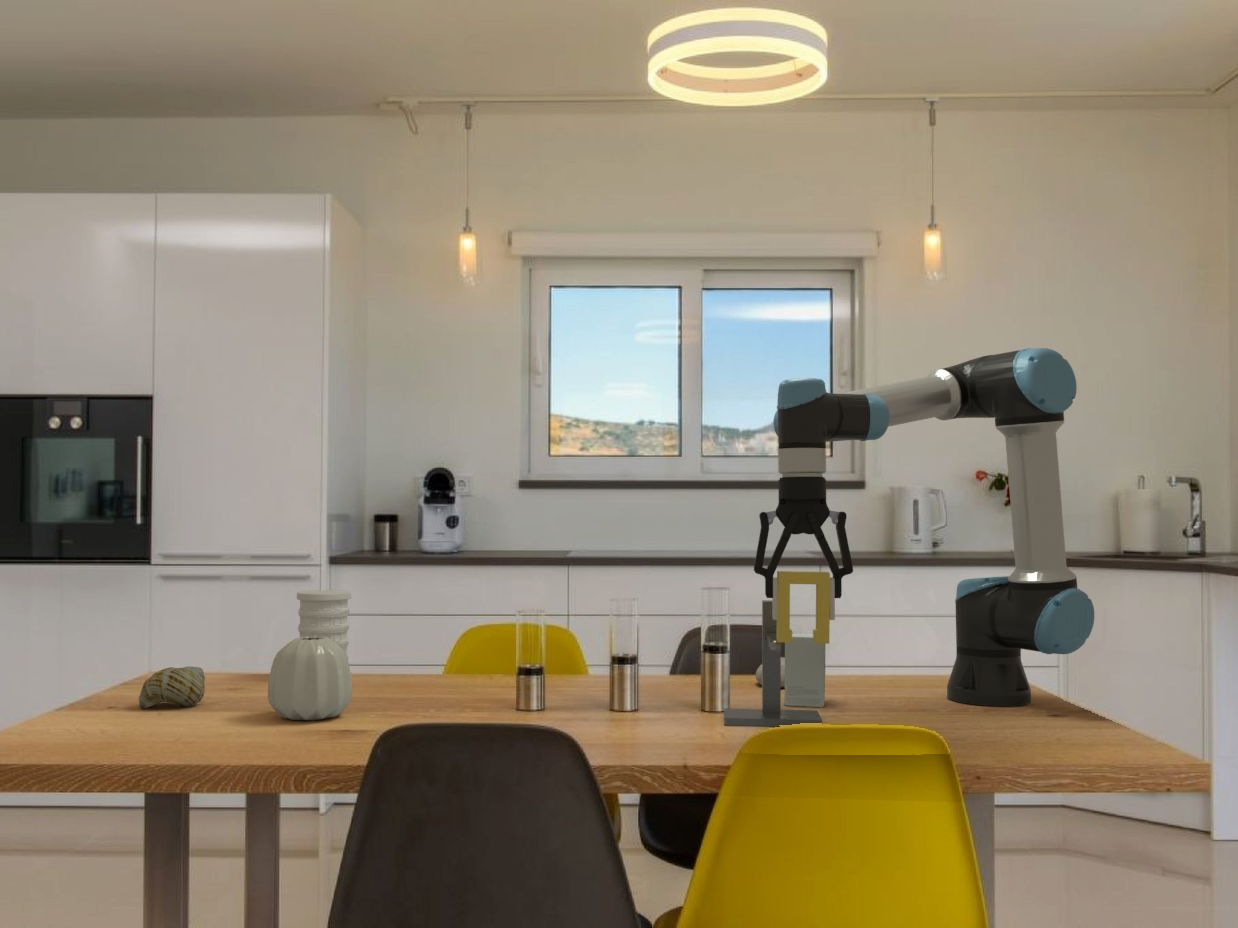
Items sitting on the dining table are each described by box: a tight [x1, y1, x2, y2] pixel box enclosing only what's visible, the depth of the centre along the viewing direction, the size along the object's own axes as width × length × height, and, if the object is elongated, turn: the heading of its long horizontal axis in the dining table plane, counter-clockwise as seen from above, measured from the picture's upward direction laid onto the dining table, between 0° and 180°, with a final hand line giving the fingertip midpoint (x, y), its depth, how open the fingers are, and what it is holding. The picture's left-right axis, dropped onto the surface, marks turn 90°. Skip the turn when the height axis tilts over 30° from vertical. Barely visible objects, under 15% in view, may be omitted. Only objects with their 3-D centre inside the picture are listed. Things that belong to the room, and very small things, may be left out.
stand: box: [723, 599, 823, 727], centre depth 189 cm, size 16×16×20 cm
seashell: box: [138, 665, 206, 710], centre depth 203 cm, size 10×10×10 cm
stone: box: [755, 656, 785, 689], centre depth 231 cm, size 13×10×8 cm
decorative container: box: [296, 589, 352, 677], centre depth 234 cm, size 12×12×18 cm
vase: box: [267, 637, 353, 721], centre depth 193 cm, size 14×14×13 cm
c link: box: [776, 570, 831, 645], centre depth 180 cm, size 8×4×11 cm, turn 86°
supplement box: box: [783, 632, 826, 708], centre depth 210 cm, size 7×7×13 cm
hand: (803, 618), depth 180 cm, fingers closed on c link, 8 cm apart
